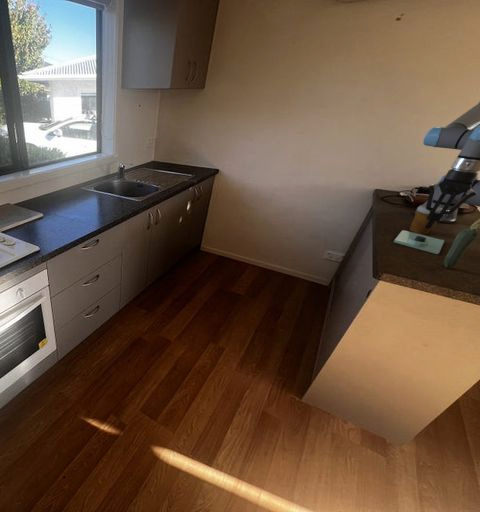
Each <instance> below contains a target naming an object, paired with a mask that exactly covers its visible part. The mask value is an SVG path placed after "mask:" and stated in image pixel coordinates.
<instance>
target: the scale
mask: <svg viewBox="0 0 480 512" xmlns="http://www.w3.org/2000/svg"><path fill="white" fill-rule="evenodd" d="M417 236H422V237H425V238H426V240H425V242H419V241H416V240H415V238H416V237H417ZM393 243H395V244H399V245H402V246H405V247H409V248H414V249H417V250H421V251H424V252H427V253H432V254H435V255H439V254H440V252H441V249H442V247H443V246H444V244H445V240H444V239H440V238H436V237H432V236H428V235H425V234H419V233H415V232H412V231H408V230H404V229H403V230H401V231H400V232H399V233H398V235H397V236H396V238H395V239H394V240H393Z"/></svg>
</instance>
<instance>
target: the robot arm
mask: <svg viewBox="0 0 480 512" xmlns="http://www.w3.org/2000/svg"><path fill="white" fill-rule="evenodd" d="M422 143H423V145H424V146H426V147H432V148H439V149H449V150H458V151H460V152H459V153H458V154H457V157H456V158H455V159H454V161H453V163H452V164H451V166H450V169H449V170H448V171H447V173H446V174H445V175H443V176H441V178H440V179H439V180H438V182H436V183H435V184H429V186H428V190H429V194H428V198H427V200H426V201H425V202H424V203H423V204H422V205H426V209H427V210H429V211H430V213H429V215H428V216H427V218H426V219H428V220H429V222H428V223H427V225H426V226H425V228H428V229H430V228H431V226H432V225H433V223H434V221H437V223H444V224H453V223H454V222H455V221H456V220H457V216H458V211H459V208H460V207H461V206H462V205H463V204H465V205H470V206H475V207H480V179H479V176H478V175H479V172H480V100H479V101H478V102H477V104H475V105H474V106H472V107H471V108H470V109H468V110H467V111H465V112H464V113H463V114H461V115H460V116H458V117H457V118H456V119H453V121H451V122H449V124H447V125H446V126H433V127H432V128H429V130H428V131H427V133H426V134H425V136H424V138H423V142H422ZM431 206H434V207H433V208H432V207H431ZM438 207H439V208H443V209H442V210H441V212H440V213H438V212H435V211H436V209H437V208H438ZM416 212H417V209H416V210H414V213H413V214H414V216H415V215H416ZM444 214H445V215H444ZM443 215H444V216H443Z"/></svg>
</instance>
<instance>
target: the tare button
mask: <svg viewBox="0 0 480 512" xmlns="http://www.w3.org/2000/svg"><path fill="white" fill-rule="evenodd" d="M415 240H416V241H419V242H425V240H426V238H425V237H422V236H417V237H416V238H415Z"/></svg>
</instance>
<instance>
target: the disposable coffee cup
mask: <svg viewBox="0 0 480 512" xmlns="http://www.w3.org/2000/svg"><path fill="white" fill-rule="evenodd" d="M431 207H432V208H433V207H434V206H431ZM442 209H443V208H439V207H438V208H437V209H436V211H435V212H438V213H440V212H441V210H442ZM416 210H417V212H416V215H415V214H414V217H413V219H412V222H411V225H410V228H409V232H412V233H416V234H420V235H428V234H429V233H430V231H431V230H432V229H433V228H434V227H435V226H436V225H437V224H438V222H437V221H434V223H433V225H432V226H431V228H430V229H428V228H425V226H426V225H427V223H428V222H429V220H428V219H426V218H427V216H428V215H429V213H430V211H429V210H427V209H426V205H423V204H420V205H419V206H418V207H417V208H416ZM444 215H445V214H444ZM444 215H443V216H444Z"/></svg>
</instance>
